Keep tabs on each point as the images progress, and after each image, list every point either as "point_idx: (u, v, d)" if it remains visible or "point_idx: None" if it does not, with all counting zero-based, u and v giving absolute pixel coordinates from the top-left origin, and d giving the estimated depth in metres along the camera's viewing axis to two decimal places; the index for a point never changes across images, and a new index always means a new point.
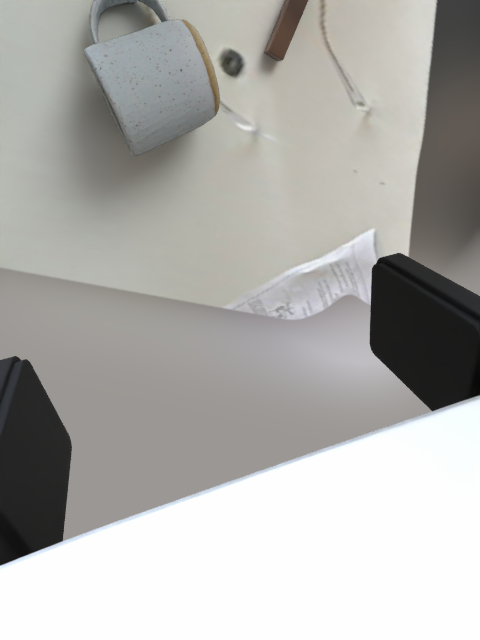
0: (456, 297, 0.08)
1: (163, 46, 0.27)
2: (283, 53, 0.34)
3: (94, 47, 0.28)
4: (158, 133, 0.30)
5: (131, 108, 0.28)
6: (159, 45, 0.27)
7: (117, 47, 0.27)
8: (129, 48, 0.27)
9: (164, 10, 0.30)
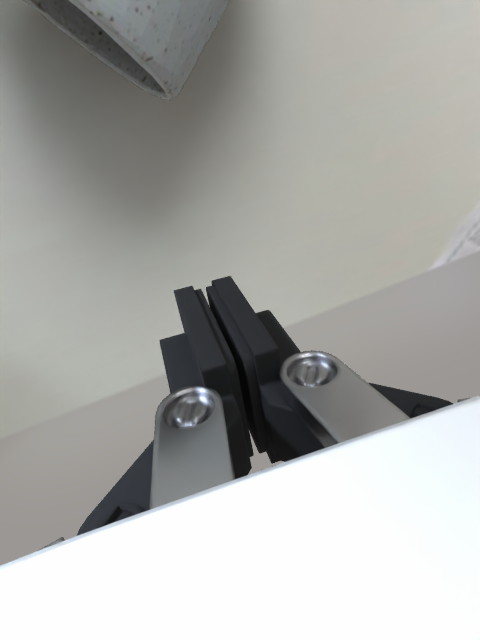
0: (243, 324, 0.09)
1: None
2: None
3: None
4: None
5: None
6: None
7: None
8: None
9: None
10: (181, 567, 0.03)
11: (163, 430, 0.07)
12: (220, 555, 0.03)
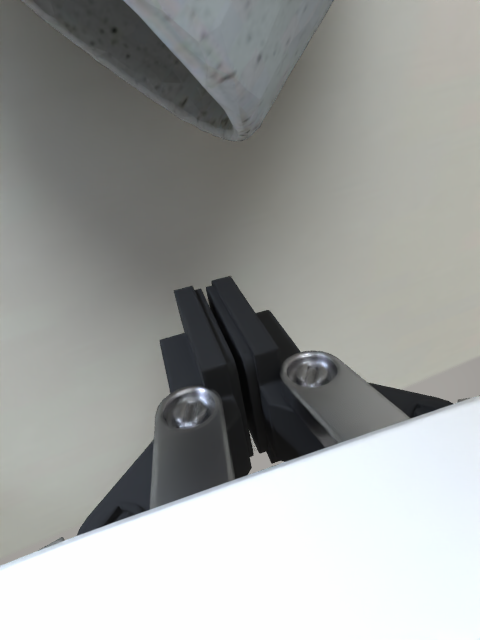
0: (243, 324, 0.09)
1: None
2: None
3: None
4: None
5: None
6: None
7: None
8: None
9: None
10: (181, 567, 0.03)
11: (163, 430, 0.07)
12: (220, 555, 0.03)
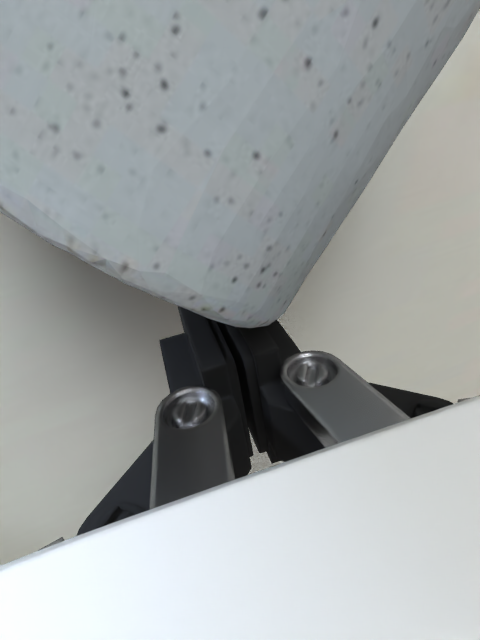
0: None
1: None
2: None
3: None
4: (339, 217, 0.07)
5: (209, 227, 0.05)
6: None
7: None
8: None
9: None
10: (181, 567, 0.03)
11: (163, 430, 0.07)
12: (220, 555, 0.03)
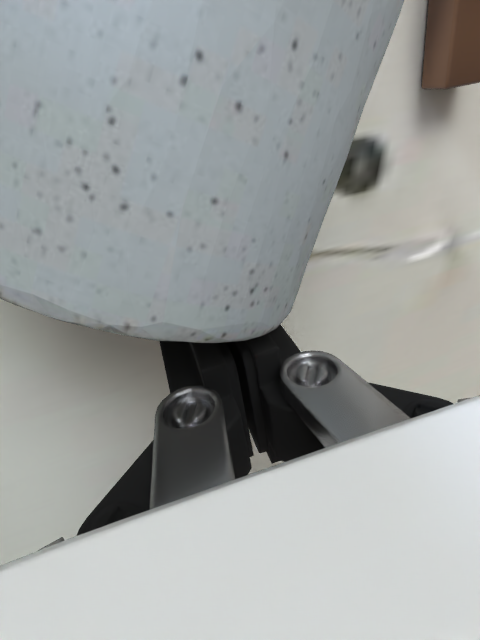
0: None
1: None
2: None
3: None
4: (318, 215, 0.07)
5: (190, 274, 0.05)
6: None
7: None
8: None
9: None
10: (181, 567, 0.03)
11: (163, 430, 0.07)
12: (220, 555, 0.03)
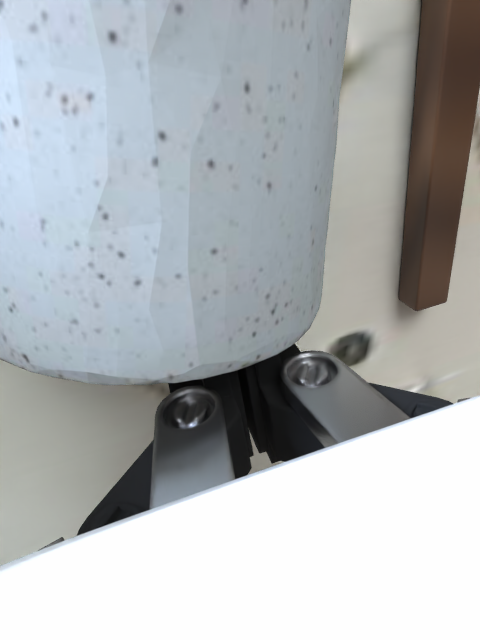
0: None
1: None
2: (444, 293, 0.16)
3: None
4: (320, 217, 0.07)
5: (211, 318, 0.06)
6: None
7: None
8: None
9: None
10: (181, 567, 0.03)
11: (163, 430, 0.07)
12: (220, 555, 0.03)
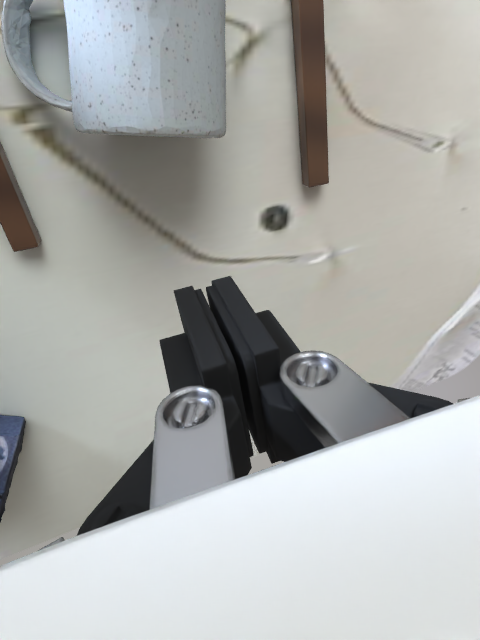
0: (243, 324, 0.09)
1: None
2: (326, 176, 0.28)
3: (76, 115, 0.19)
4: (213, 81, 0.18)
5: (168, 107, 0.17)
6: (93, 4, 0.16)
7: (83, 81, 0.18)
8: (87, 61, 0.17)
9: None
10: (181, 567, 0.03)
11: (163, 430, 0.07)
12: (220, 555, 0.03)
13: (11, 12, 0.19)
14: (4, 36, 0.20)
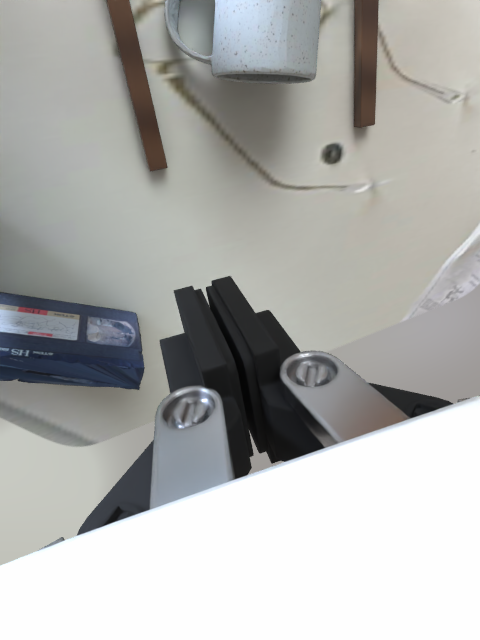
0: (243, 324, 0.09)
1: None
2: (373, 119, 0.37)
3: (221, 62, 0.28)
4: (315, 38, 0.27)
5: (290, 54, 0.26)
6: None
7: (232, 36, 0.27)
8: (238, 23, 0.26)
9: None
10: (181, 567, 0.03)
11: (163, 430, 0.07)
12: (220, 555, 0.03)
13: None
14: (166, 8, 0.28)
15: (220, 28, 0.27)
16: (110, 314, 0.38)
